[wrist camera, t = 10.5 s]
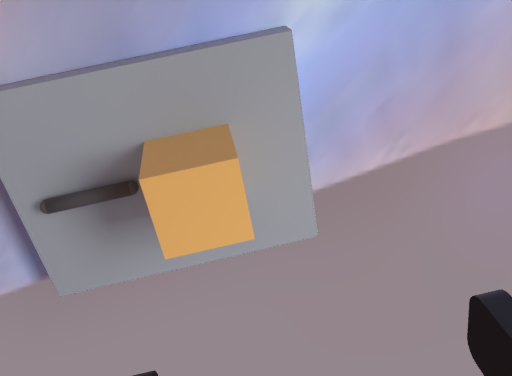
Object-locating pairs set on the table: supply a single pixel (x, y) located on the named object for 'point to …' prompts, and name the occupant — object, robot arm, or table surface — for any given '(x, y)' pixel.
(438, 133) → the table surface
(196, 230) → the orange toy cube
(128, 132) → the grey slider board
